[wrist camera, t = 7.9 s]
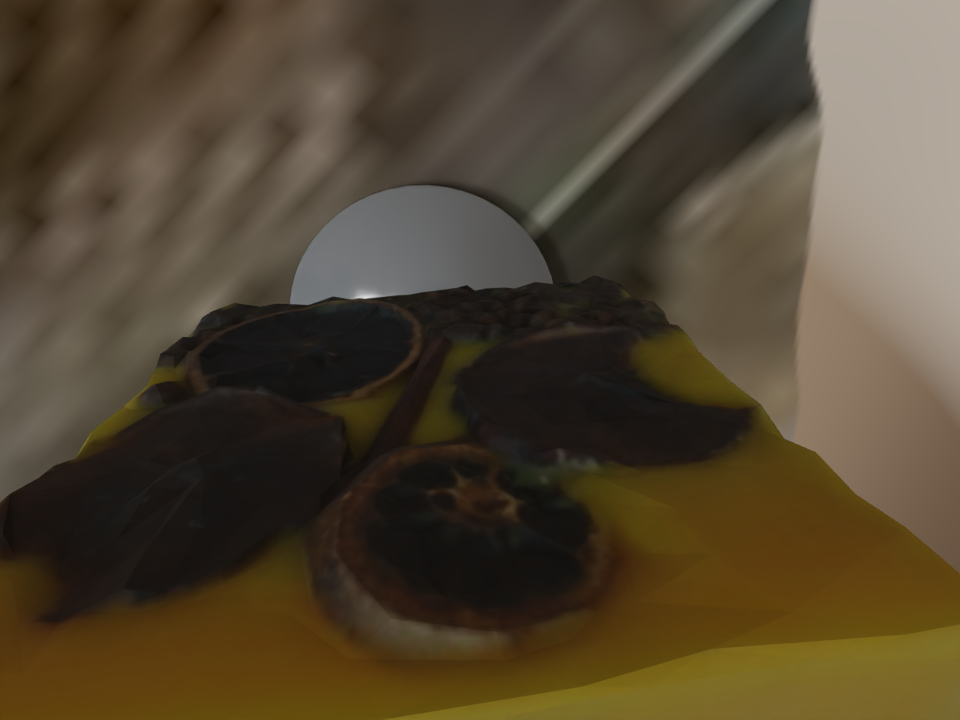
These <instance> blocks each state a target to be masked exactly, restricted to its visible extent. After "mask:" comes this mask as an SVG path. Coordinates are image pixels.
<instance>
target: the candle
mask: <svg viewBox="0 0 960 720" xmlns="http://www.w3.org/2000/svg"><path fill="white" fill-rule="evenodd" d="M0 720H960V574H959V572H957V571H956V570H955V569H954V568H953V567H952V566H950V565H949V564H948V563H947V562H946V561H944V560H943V559H942V558H941V557H940V556H939V555H937V554H936V553H935V552H934V551H932V549H930V548H929V547H928V546H927V545H926V544H924V543H923V542H922V541H921V540H920V539H919V538H917V537H916V536H915V535H914V534H913V533H912V532H910V531H909V530H908V529H907V528H906V527H904V526H903V525H901V524H899V523H898V522H897V521H895V520H894V519H892V518H891V517H889V516H888V515H886V514H885V513H883V512H882V511H880V510H879V509H877V508H876V507H874V506H873V505H871V504H869V503H868V502H866V501H865V500H864V499H862V498H860V497H859V496H857V495H856V494H855V493H854V492H853V491H852V490H851V489H850V488H849V487H848V486H847V485H846V484H845V483H844V481H843V480H842V479H841V478H840V477H839V476H838V475H837V474H836V473H835V472H834V471H833V470H832V469H831V468H830V467H829V466H828V465H827V464H826V463H825V461H824V460H822V458H821V457H820V456H819V455H818V454H817V453H816V452H814V451H811V450H809V449H807V448H804V447H802V446H800V445H798V444H795V443H793V442H791V441H788V440H786V439H784V438H783V436H782V435H781V433H780V432H779V430H778V429H777V427H776V426H775V425H774V423H773V422H772V420H771V419H770V417H769V416H768V415H767V413H766V412H765V410H764V409H763V407H762V406H761V404H759V403H758V402H757V401H755V400H754V399H753V398H751V397H750V396H749V395H748V394H746V393H745V392H744V391H742V390H741V389H740V388H738V387H737V386H736V385H735V384H733V383H732V382H731V381H730V380H729V379H727V378H726V377H725V376H724V375H723V374H722V373H721V372H720V371H719V370H718V369H717V368H716V367H715V366H714V365H713V364H712V363H711V362H709V361H708V360H707V359H706V358H705V357H704V356H703V355H702V354H701V353H700V352H699V351H698V349H697V348H696V347H695V345H694V344H693V342H692V341H691V339H690V338H689V337H688V335H687V334H686V333H685V332H684V331H683V330H682V329H681V328H680V327H679V326H677V325H670V324H669V323H668V321H667V318H666V316H665V313H664V312H663V311H662V310H661V309H660V308H659V307H658V306H657V305H656V304H655V303H654V302H653V301H645V300H638V299H635V298H633V297H631V296H630V295H629V294H628V293H627V292H626V291H625V289H624V288H623V286H622V285H621V284H619V283H616V282H613V281H610V280H607V279H604V278H600V277H597V276H592V277H590V278H588V279H586V280H584V281H582V282H580V283H560V284H549V283H540V282H533V283H530V284H527V285H524V286H521V287H518V288H515V289H514V288H506V287H504V288H485V289H481V290H476V291H475V290H473V289H472V288H471V287H469V286H468V285H465V286H461V287H458V288H451V289H444V290H436V291H428V292H420V293H415V294H410V295H395V296H386V297H376V298H367V299H363V298H357V299H352V300H351V299H345V298H340V297H334V296H333V297H330V298H327V299H324V300H322V301H319V302H316V303H313V304H310V305H300V304H272V305H267V306H262V307H258V306H251V305H244V304H237V303H233V304H231V305H228V306H225V307H223V308H220V309H218V310H215V311H212V312H210V313H209V314H207V315H206V316H204V317H203V318H202V319H201V321H200V323H199V324H198V326H197V328H196V330H195V331H194V332H193V333H192V334H191V335H190V336H189V337H182V338H181V339H180V340H179V341H177V342H176V343H175V344H174V345H172V346H171V347H170V348H169V349H167V350H166V351H165V352H163V353H161V354H160V357H159V360H158V364H157V367H156V368H155V370H154V372H153V375H152V377H151V379H150V381H149V383H148V385H147V386H146V387H145V388H144V389H143V390H142V391H141V392H140V393H139V394H137V395H136V396H135V397H134V398H133V399H132V400H131V401H129V402H128V403H127V404H126V405H125V406H124V407H123V408H121V409H120V410H119V411H117V412H116V413H115V414H113V415H112V416H111V417H109V418H108V419H107V420H106V421H104V422H103V423H102V424H100V425H99V426H98V427H96V428H95V429H94V430H93V431H92V432H91V434H90V435H89V437H88V438H87V440H86V442H85V443H84V445H83V446H82V448H81V449H80V451H79V453H78V454H77V456H76V457H75V459H73V460H70V461H67V462H64V463H61V464H58V465H55V466H53V467H52V468H50V469H49V470H48V471H47V472H46V473H44V474H43V475H42V476H41V477H40V478H38V479H36V480H34V481H33V482H31V483H29V484H27V485H25V486H23V487H22V488H20V489H18V490H16V491H14V492H13V493H11V494H9V495H8V496H7V497H6V498H5V499H4V500H3V501H1V502H0Z"/></svg>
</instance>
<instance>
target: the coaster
mask: <svg viewBox="0 0 960 720" xmlns="http://www.w3.org/2000/svg"><path fill="white" fill-rule="evenodd" d="M533 282H540V283H549V284H553V281H552V277H551V274H550V272H549V269H548V266H547V264H546V261H545V259H544V258H543V256H542V254H541V252H540V250H539V249H538V247H537V245H536V244H535V243H534V241H533V240H532V239H531V237H530V236H529V235H528V233H527V232H526V231H525V230H524V229H523V228H522V227H521V226H520V225H519V224H518V223H517V222H516V221H515V220H514V219H513V218H512V217H511V216H510V215H508V214H507V213H506V212H504V211H503V210H502V209H500V208H499V207H498V206H496V205H494V204H492V203H491V202H489V201H487V200H485V199H483V198H482V197H479V196H477V195H474V194H472V193H469V192H467V191H464V190H460V189H456V188H451V187H447V186H439V185H430V184H420V185H405V186H399V187H393V188H388V189H385V190H382V191H379V192H376V193H373V194H370V195H368V196H366V197H364V198H362V199H360V200H358V201H356V202H354V203H353V204H351V205H350V206H348V207H347V208H345V209H344V210H342V211H341V212H339V213H338V214H337V215H336V216H335V217H334V218H333V219H331V220H330V221H329V222H328V223H327V224H326V225H325V226H324V227H323V229H322V230H321V231H320V232H319V233H318V235H317V236H316V237H315V238H314V239H313V241H312V242H311V244H310V245H309V247H308V249H307V250H306V252H305V254H304V255H303V257H302V259H301V262H300V264H299V267H298V269H297V271H296V274H295V278H294V282H293V286H292V290H291V299H290V304H300V305H310V304H313V303H316V302H319V301H322V300H324V299H327V298H330V297H333V296H334V297H340V298H345V299H351V300H352V299H357V298H363V299H367V298H376V297H386V296H395V295H410V294H415V293H420V292H428V291H436V290H444V289H451V288H458V287H461V286H465V285H468V286H469V287H471V288H472V289H473V290H475V291H476V290H481V289H485V288H504V287H506V288H514V289H515V288H518V287H521V286H524V285H527V284H530V283H533Z"/></svg>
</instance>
